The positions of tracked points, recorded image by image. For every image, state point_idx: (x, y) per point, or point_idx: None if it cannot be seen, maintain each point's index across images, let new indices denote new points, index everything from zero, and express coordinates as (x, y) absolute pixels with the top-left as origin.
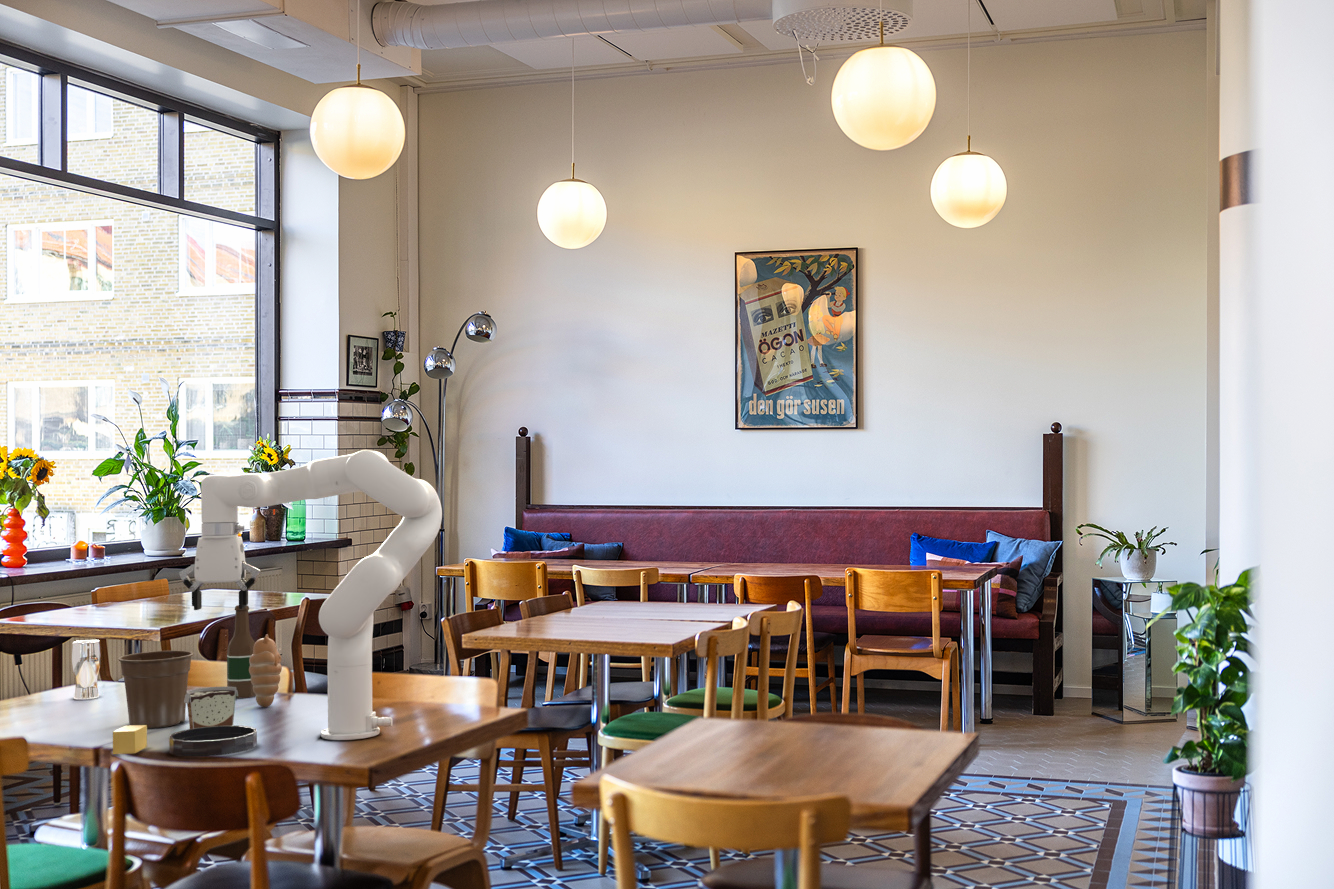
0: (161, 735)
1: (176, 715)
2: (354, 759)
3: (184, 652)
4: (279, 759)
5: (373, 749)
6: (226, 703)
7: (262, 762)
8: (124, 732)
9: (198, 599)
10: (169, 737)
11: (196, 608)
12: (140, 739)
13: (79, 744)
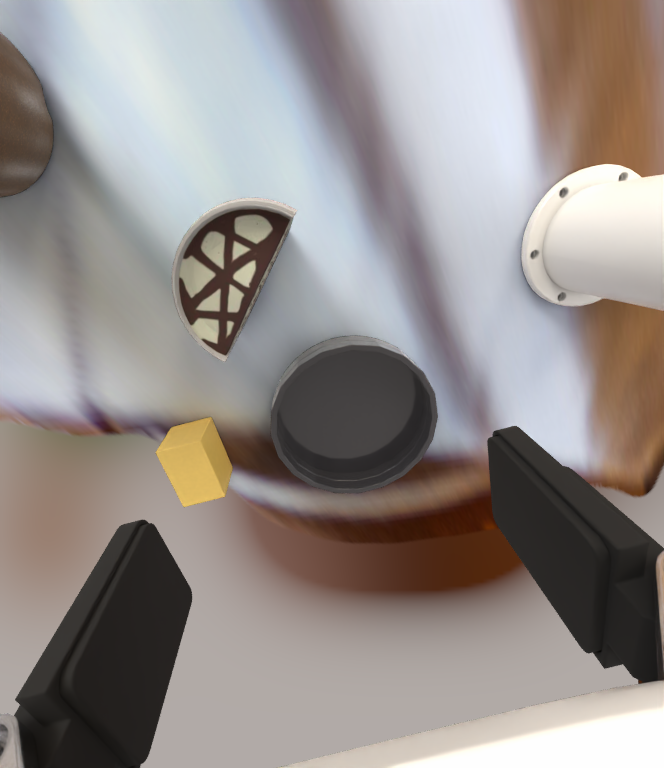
0: (130, 281)
1: (39, 129)
2: (617, 441)
3: None
4: None
5: (641, 368)
6: (278, 247)
7: (478, 478)
8: (205, 500)
9: (155, 656)
10: (291, 471)
11: (184, 604)
12: (219, 459)
13: (25, 396)
